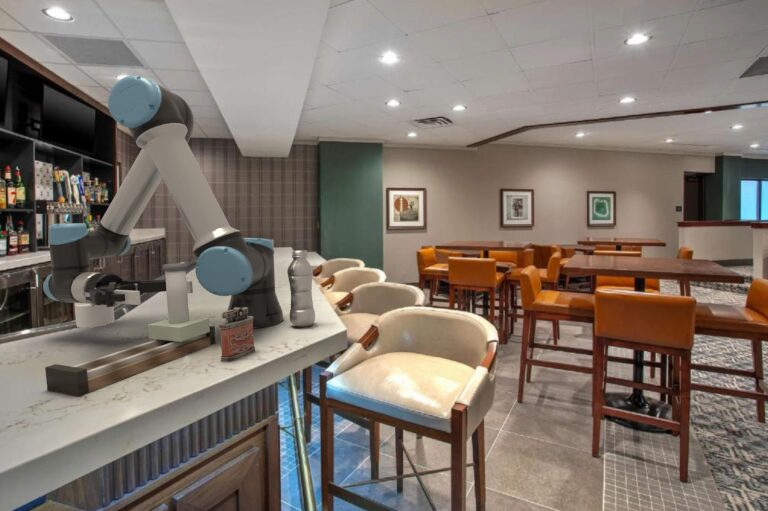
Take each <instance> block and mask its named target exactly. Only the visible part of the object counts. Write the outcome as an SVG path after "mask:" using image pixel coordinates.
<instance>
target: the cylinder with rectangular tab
mask: <svg viewBox="0 0 768 511" xmlns="http://www.w3.org/2000/svg"><path fill="white" fill-rule="evenodd" d="M114 306H115V305H114ZM114 306H113V307H107V305H95V306H91V304H89V303H74V313H75V314H74V315H75V316H74V317H75V326H77V327H76V328H78V327H79V328H81V329H85V328H87V327H90V328H97V327H96V326H98V327H103V326H102V325H104V326H107V325H106V324H108V325H111V324H113V323H115V321H116V320H115V309H114ZM110 323H111V324H110Z"/></svg>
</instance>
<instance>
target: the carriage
mask: <svg viewBox="0 0 768 511" xmlns="http://www.w3.org/2000/svg"><path fill="white" fill-rule="evenodd" d="M188 269H189V268H188V263H187V262H186V263H185V262H178V263H177V262H176V263H174V262H173V263H166V264H163V265H162V271H163V272H164V273H165V274H164V275H165V280H166V291H165V292H166V301H167V302H166V303H167V316H168V317H167V318H168V319H167V318H166V319H164V320H163V319H162V320H160V321H156V322H153V323H150V324H149V323H148V324H147V330H148V331H147V334H148V339H150V340H152V339H153V340H157V339H158V340H168V341H177V342H182V341H185V340H188V339H190V338H193V337H196V336H199V335H202V334H205V333H208V332H210V328H209V326H210V318H204V317H195V316H194V317H193V316H190V314H189V298H188V297H189V296H188V293H187V281H188V279H187V270H188Z"/></svg>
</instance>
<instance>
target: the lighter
mask: <svg viewBox="0 0 768 511" xmlns="http://www.w3.org/2000/svg"><path fill="white" fill-rule="evenodd" d="M247 314H248V308H247V307H244V308H237V307H235V308H233V310H229V311H227V310H226V311H223V312H222V315H221V316H222V319H226V318H228V321H226V320H224V321H223V322H220V323H219V324H218V328H219V329H220V346H221V348H220V349H221V356H220V361H221V362H222V363H223V362H224V363H229V362H233V361H237V360H240V359H242V358H244V357H247V356H250V355H251V354H253V353H255V352H256V346H255V340H254V338H255V336H254V328H253V321H254V319H253V316H247Z"/></svg>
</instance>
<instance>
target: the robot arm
mask: <svg viewBox="0 0 768 511" xmlns="http://www.w3.org/2000/svg"><path fill="white" fill-rule="evenodd" d="M107 106H108V111H109V113H110V115H111V117H112V119H113V120H114V121H116V122H117V123H118V124H120V125H121V126H123V127H126V128H127V129H128V130H129V132H130V135H131V136H132V138H133V140H134V142H135V143H136V145H137V147H138V148H141V150H140V151H139V153H138V155H137V157H136V158H135V160H134V162H133V164H132V165H131V168H130V169H129V170H128V172H127V174H126V176H125V178H124V180H123V181H122V183H121V185H119V186H120V187H119V188H118V190H117V192H116V193H115V195H114V197H113V199H112V201H111V203H110V204H109V206H108V208H107V210H106V211H105V213H104V215H103V216H102V218H101V220H100V222H99V223H98V225H97V227H96V228H95V229H93V230H90V229H89V230H88V229H87V225H86V224H85V223H82V222H79V223H77V222H76V223H69V222H68V223H53V224H52V223H51V225H49V227H48V240H47V242H48V246H49V254H50V267H51V270H50V272H51V273H50V274H48V276H46V278H45V280H44V282H43V285H42V289H43V292H44V294H45V295H46V296H47V298H48V299H51V300H52V301H53V300H54V301H55V302H61V303H65V304H68V303H69V304H70V303H72V304H73V303H89V304H91V306H95V305H107V307H113V306H115V304H119V305H122V304H123V305H136V306H139V305H141V295H143V294H146V293H147V294H148V293H161V292H162V293H163V292H167V291H166V279H150V280H147V279H146V280H144V279H143V280H142V279H139V280H130V279H129V280H128V279H123V278H122V277H121V276H120V275H119V274H116V273H112V272H95V271H94V272H92V271H91V264H90V260H95V259H105V258H115V257H118V256H119V257H120V256H122V255H124V254H126V253H128V252H129V250H130V249H131V246H132V243H131V241H132V240H131V237H130V234H131V233H132V231H133V229H134V227H135V226H136V225H137V222H138V221H139V219H140V217H141V216H142V214H143V212H144V210H145V209H146V207H147V206H148V204H149V202H150V200H151V198H152V197H153V195H154V193H155V192H156V190H157V189H158V187H159V185H160V183H161V181H162V180H163V182H164V184H165V185H166V188H167V189H168V192H169V193H170V195H171V198H172V199H173V201H174V203H175V205H176V207H177V209H178V211H179V213H180V215H181V216H182V218H183V221H184V223H185V224H186V226H187V228H188V231H189V232H190V234H191V236H192V238H193V240H194V242H195V243H194V246H193V248H192V253H193V254H194V257H195V259H196V266H195V276H196V279H197V280H198V283H199V284H200V286H201V287H202V288H203V289H204V290H206V291H207V292H209V293H211V294H212V295H215V296H217V297H218V296H219V297H230V299H229V304H228V307H227V310H226V311H229V310H233V308H235V307H237V308H244V307H247V308H248V314H247V316H253V319H254V321H253V329H261V328H267V327H270V326H275V325H278V324H280V323H282V322H283V321H284V312H283V309H282V306H281V303H280V301H279V299H278V297H277V294H276V280H275V279H276V278H275V257H274V256H275V249H274V245H273V242H272V240H270V239H269V238H258V237H244V236H243V234H242V232H241V231H240V230H239V229H238V228H237V229H236V228H235V227H232V226H230V223H229V221H228V219H227V217H226V216H225V214H224V211H223V209H222V208H221V206H220V204H219V202H218V200H217V198H216V196H215V195H214V192H213V190H212V188H211V187H210V184H209V182H208V180H207V179H206V177H205V175H204V173H203V171H202V169H201V167H200V165H199V162H198V161H197V159H196V157H195V155H194V153H193V151H192V149H191V147H190V146H189V141H190V139H191V137H192V133H193V131H194V124H195V122H194V120H195V119H194V114H193V112H192V108H191V107H190V106H189V104H188V103H187V101H186V100H185V99H183V98H182V97H181V96H180V95H178V94H176V93H174V92H172V91H171V90H169V89H166V88H165V87H163V86H162V85H160V84H158V83H157V82H156V81H154V80H152V79H150V78H146V77H144V76H141V75H128V76H124V77H123V78H121V79H119V80H118V81H117V82H115V84H114V85H113V86H112V88H111V89H110V94H109V95H108V98H107ZM187 294H194V291H193V281H191V280H187ZM225 321H228V318H225Z"/></svg>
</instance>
